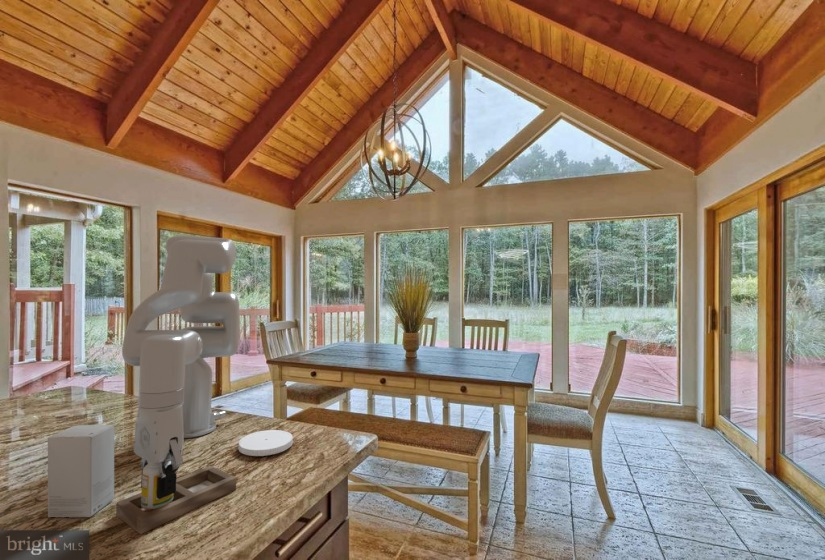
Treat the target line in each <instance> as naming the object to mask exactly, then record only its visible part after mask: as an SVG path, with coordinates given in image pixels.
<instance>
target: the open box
mask: <svg viewBox="0 0 825 560" xmlns="http://www.w3.org/2000/svg"><path fill="white" fill-rule="evenodd" d="M236 490H237V476H234V475H231V474H230V473H227V472H225V471H223V470H221V469H219V468H217V467H214V466H212V465H208V466H206V467H204V468H203V467H202V468H200V469H198V470H195V471H193V472H190V473H188V474H185V475H183V476H180V477H178V478H177V477H176V491H175V493H174V497H173V500H172V501H171V502H170V503H169V504H167V505H164V506H162V507H160V508H157V509H144V508H142V506H141V492H140V493H137V494H135V495H132V496H130V497H127V498H124V499H121V500H119V501H116V504H115V505H116V506H115V516H116V517H117V518H119V520H120V521H122V522H124V523H125V524H127V526H129V527H130V528H132V529H133V530H134V531H135V532H137V533H138V534H139V535H142V534H145V533H147V532H148V531H150V530H153V529H155V528H158V527H159V526H161V525H163V524H165V523H167V522H170V521H171V520H174V519H176V518H179V517H180V516H182V515H184V514H185V515H186V514H187V513H189V512H190V511H194V510H195V509H197V508H200V507H201V506H204V505H206V504H208V503H210V502H212V501H214V500H217V499H218V498H220V497H223V496H225V495H226V494H229V493H231V492H232V491H236Z"/></svg>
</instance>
